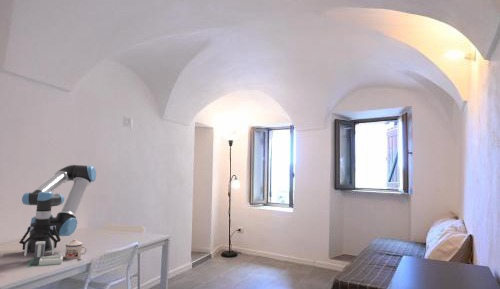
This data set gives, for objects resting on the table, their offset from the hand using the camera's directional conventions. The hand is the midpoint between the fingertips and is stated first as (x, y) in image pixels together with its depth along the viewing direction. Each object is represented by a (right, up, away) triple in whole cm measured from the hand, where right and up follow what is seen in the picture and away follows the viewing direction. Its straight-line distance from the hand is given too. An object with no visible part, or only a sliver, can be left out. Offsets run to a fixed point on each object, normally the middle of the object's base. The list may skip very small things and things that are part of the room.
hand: (39, 254), depth 185 cm
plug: (0, -3, 0) cm, 3 cm away
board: (+6, -4, -3) cm, 7 cm away
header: (+10, -3, -4) cm, 11 cm away
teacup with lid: (+16, -6, +9) cm, 19 cm away
